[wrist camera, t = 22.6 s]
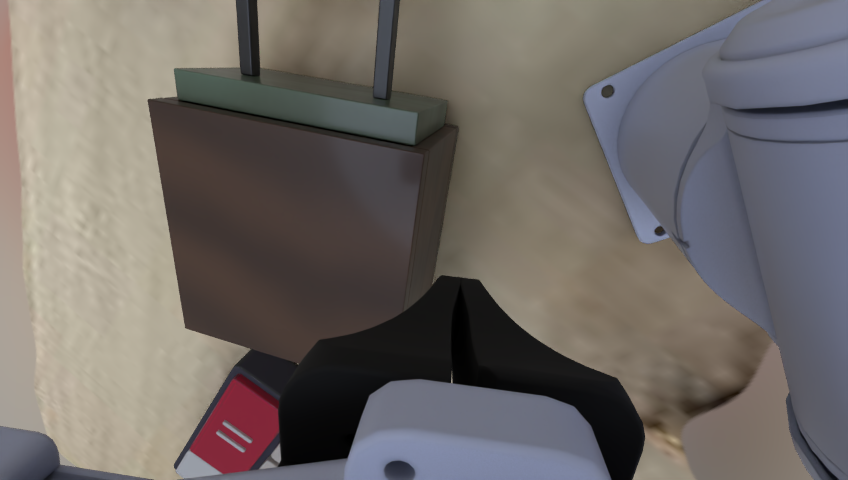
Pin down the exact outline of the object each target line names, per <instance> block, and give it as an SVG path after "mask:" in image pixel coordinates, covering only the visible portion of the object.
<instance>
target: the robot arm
mask: <svg viewBox="0 0 848 480" xmlns="http://www.w3.org/2000/svg"><path fill="white" fill-rule="evenodd" d="M606 85H611V86H612V87H613V93H612V95H610V96H609V97H603V96H602V95H601V91H602V89H603V87H605V86H606ZM583 102H584V105H585V107H586V110H587V112H588V115H589V117H590V120H591V122H592V125H593V127H594V130H595V132H596V135H597V137H598V140H599V142H600V145H601V147H602V150H603V152H604V155H605V157H606V160H607V162H608V165H609V168H610V170H611V173H612V175H613V178H614V180H615V183H616V185H617V188H618V190H619V193H620V195H621V198H622V200H623V203H624V205H625V208H626V210H627V213H628V215H629V218H630V220H631V223H632V225H633V228H634V230H635V233H636V235H637V237H638V239H639V240H640V241H641V242H643V243H646V244H650V243H654V242H658V241H661V240H664V239H667V238H671V239H672V240H673V241H674V243H675V244H676V245H677V247H678V248H679V249H680V251H681V252H682V253H683V254H684V256H685V257H686V258H687V260H688V261H689V262H690V263H691V264H692V266H693V267H694V268H695V270H696V271H697V273H698V274H699V275H700V277H701V278H702V279H703V280H704V282H705V283H706V284H707V285H708V286H709V287H710V288H711V289H712V290H713V291H714V292H715V293H716V294H717V295H718V296H720V297H721V298H722V299H723V300H724V301H726V302H727V303H728V304H730V305H731V306H732V307H734V308H735V309H736V310H738V311H739V312H741V313H742V314H743V315H745V316H746V317H748V318H749V319H751V320H752V321H753V322H755V323H756V324H758V325H759V326H760V327H762V328H763V329H764V330H765V331H767V332H768V335H769V336H770V338H771V339H772V340H773V341H774V342H775V343H776V345H777V346H778V347H779V350H780V353H781V358H782V362H783V367H784V370H785V375H786V379H787V383H788V387H789V394H788V396H787V398H786V404H787V414H788V421H789V430H790V433H791V437H792V440H793V444H794V447H795V450H796V451H797V453H798V455H799V457H800V459H801V461H802V463H803V464H804V466H805V468H806V470H807V471H808V473H809V474H810V475H811V477H812V478H813V479H814V480H848V0H761V1H759V2H757V3H755V4H753V5H751V6H749V7H747V8H745V9H743V10H741V11H739V12H737V13H735V14H733V15H731V16H729V17H727V18H725V19H724V20H722V21H720V22H718V23H716V24H714V25H712V26H710V27H708V28H706V29H704V30H702V31H700V32H698V33H696V34H694V35H692V36H690V37H688V38H686V39H684V40H682V41H680V42H678V43H676V44H674V45H672V46H670V47H668V48H666V49H664V50H662V51H660V52H658V53H656V54H654V55H652V56H650V57H648V58H646V59H644V60H642V61H640V62H638V63H636V64H634V65H632V66H630V67H628V68H626V69H624V70H622V71H620V72H618V73H616V74H614V75H612V76H610V77H608V78H606V79H604V80H602V81H600V82H598V83H596V84H594V85H592V86H590V87H589V88H588V89H587V90H586V91H585V93H584V95H583ZM658 226H662V227H663V228H664V230H663V231H662V232H660V233H656V232H654V230H655V229H656V227H658ZM451 374H452V379H453V384H452V383H451ZM278 422H279V438H280V454H281V461H280V463H279V465H278V467H274V468H266V469H258V470H251V471H243V472H235V473H227V474H219V475H211V476H203V477H195V478H187V479H179V480H632V479H633V476H634V474H635V471H636V468H637V465H638V463H639V460H640V457H641V454H642V451H643V446H644V441H645V433H644V428H643V422H642V421H641V419H640V417H639V415H638V413H637V411H636V409H635V407H634V405H633V403H632V402H631V400H630V398H629V396H628V394H627V393H626V391H625V390H624V388H623V386H622V385H621V383H620V382H619V380H618V379H617V378H615V377H612V376H610V375H607V374H604V373H602V372H599V371H597V370H594V369H591V368H589V367H586V366H584V365H582V364H580V363H577V362H575V361H573V360H571V359H569V358H567V357H565V356H563V355H561V354H560V353H558V352H556V351H554V350H552V349H551V348H549V347H548V346H546V345H545V344H543V343H541V342H540V341H538V340H537V339H535V338H534V337H533V336H531V335H530V334H529V333H527V332H526V331H525V330H524V329H522V328H521V327H520V326H519V325H518V324H516V323H515V322H514V321H513V320H512V319H511V318H510V317H509V316H508V315H507V314H506V313H505V312H504V311H503V310H502V309H501V308H500V307H499V305H498V304H497V303H496V302H495V301H494V299H493V298H492V297H491V295H490V294H489V293H488V291H487V290H486V289H485V287H484V286H483V284H482V283H481V282H480V281H479V280H477V279H468V278H460V277H451V276H440V277H439V278H438V279H437V280H436V282H435V283H434V284H433V286H432V287H431V288H430V289H429V290H428V291H427V292H426V293H425V294H424V295H423V296H422V297H421V298H420V299H419V300H418V301H416V302H415V303H414V304H413V305H412V306H410V307H409V308H408V309H407V310H405V311H404V312H402V313H401V314H399V315H398V316H396V317H394V318H392V319H390V320H388V321H386V322H383V323H381V324H379V325H377V326H375V327H372V328H369V329H366V330H363V331H360V332H356V333H353V334H349V335H344V336H338V337H333V338H327V339H320V340H318V341H317V342H316V344H315V345H314V346H313V347H312V349H311V350H310V351H309V352H308V353H307V354H306V356H305V357H304V358H303V359H302V361H301V362H300V364H299V365H298V367H297V368H296V370H295V371H294V373H293V374H292V376H291V378H290V379H289V381H288V382H287V384H286V386H285V388H284V390H283V392H282V394H281V396H280V398H279V406H278ZM0 480H152V479H146V478H140V477H134V476H128V475H121V474H115V473H109V472H103V471H96V470H90V469H84V468H78V467H72V466H65V465H60V458H59V452H58V449H57V446H56V444H55V443H54V441H53V440H52V439H51V438H50V437H48V436H47V435H45V434H42V433H40V432H35V431H28V430H23V429H16V428H9V427H3V426H0Z"/></svg>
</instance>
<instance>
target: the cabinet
mask: <svg viewBox="0 0 848 480" xmlns="http://www.w3.org/2000/svg"><path fill="white" fill-rule="evenodd" d="M148 105H149V111H150V117H151V123H152V129H153V135H154V141H155V147H156V153H157V159H158V165H159V172H160V178H161V184H162V190H163V196H164V202H165V208H166V214H167V220H168V226H169V232H170V238H171V244H172V250H173V256H174V263H175V269H176V275H177V281H178V287H179V293H180V299H181V305H182V311H183V317H184V323H185V328H186V329H189V330H193V331H196V332H199V333H202V334H205V335H209V336H212V337H215V338H218V339H222V340H225V341H228V342H231V343H234V344H238V345H241V346H244V347H247V348H250V349H254V350H257V351H260V352H263V353H266V354H270V355H273V356H276V357H279V358H282V359H286V360H289V361H292V362H295V363H299V364H300V362H301V361H302V359H303V358H304V357H305V356H306V354H307V353H308V352H309V351H310V350H311V349H312V347H313V346H314V345H315V344H316V342H317V341H318V340H320V339H327V338H333V337H338V336H344V335H349V334H353V333H356V332H360V331H363V330H366V329H369V328H372V327H375V326H377V325H379V324H381V323H383V322H386V321H388V320H390V319H392V318H394V317H396V316H398V315H399V314H401V313H402V312H404V311H405V310H407V309H408V308H409V307H410V306H412V305H413V304H414V303H415V302H416V301H418V300H419V299H420V298H421V297H422V296H423V295H424V294H425V293H426V292H427V291H428V290H429V289H430V288H431V287H432V283H433V277H434V272H435V266H436V260H437V254H438V248H439V242H440V236H441V230H442V224H443V219H444V213H445V207H446V201H447V195H448V189H449V183H450V177H451V171H452V166H453V160H454V154H455V148H456V142H457V136H458V130H459V127H458V126H454V125H449V124H444V126H443V127H442V128H440V129H439V130H437V131H436V132H434V133H433V134H431V135H430V136H428V137H427V138H425V139H424V140H422V141H421V142H419V143H418V144H416V145H415V146H412V145H407V144H402V143H397V142H392V141H387V140H382V139H377V138H371V137H366V136H361V135H356V134H351V133H346V132H341V131H336V130H331V129H326V128H320V127H315V126H310V125H305V124H300V123H295V122H290V121H285V120H280V119H274V118H269V117H264V116H259V115H254V114H249V113H244V112H239V111H234V110H228V109H223V108H218V107H213V106H208V105H203V104H198V103H193V102H188V101H183V100H179V99H178V97H169V98H156V99H148ZM266 118H267V119H266ZM271 119H272V120H271ZM276 120H277V121H276ZM292 123H293V124H292ZM297 124H298V125H297ZM302 125H303V126H302ZM307 126H308V127H307ZM312 127H313V128H312ZM317 128H318V129H317ZM322 129H323V130H322ZM327 130H328V131H327ZM332 131H333V132H332ZM353 135H354V136H353ZM358 136H359V137H358ZM363 137H364V138H363ZM368 138H369V139H368ZM373 139H374V140H373ZM378 140H379V141H378ZM383 141H384V142H383ZM388 142H389V143H388ZM393 143H394V144H393ZM409 146H410V147H409Z"/></svg>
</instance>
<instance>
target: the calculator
mask: <svg viewBox="0 0 848 480" xmlns="http://www.w3.org/2000/svg"><path fill="white" fill-rule="evenodd" d="M297 367H298V366H297V365H295V364H294V363H293V362H291V361H289V360H286V359H282V358H279V357H276V356H273V355H270V354H266V353H263V352H260V351H257V350H254V349H251V350H250V351H249V352H248V353H247V354H246V355H245V356H244V357H243V358H242V359H241V360H240V361H239V362H238V363H237V364H236V365H235V366H234V367H233V369H232V370H231V372H230V374H229V375H228V377H227V379H226V380H225V382H224V383H223V385H222V387H221V388H220V390H219V392H218V393H217V395H216V397H215V398H214V400H213V401H212V403H211V405H210V406H209V408H208V410H207V411H206V413H205V415H204V416H203V418H202V419H201V421H200V423H199V424H198V426H197V428H196V429H195V431H194V433H193V434H192V436H191V438H190V439H189V441H188V442H187V444H186V446H185V447H184V449H183V451H182V452H181V454H180V456H179V457H178V459H177V460H176V462H175V464H174V468H175V469H176V473H177V474H179V475H180V476H181V477H183V478H184V479H187V478H195V477H203V476H211V475H219V474H227V473H235V472H243V471H251V470H258V469H266V468H274V467H278V465H279V463H280V461H281V454H280V438H279V422H278V406H279V398H280V396H281V394H282V392H283V390H284V388H285V386H286V384H287V382H288V381H289V379H290V378H291V376H292V374H293V373H294V371H295V370H296V368H297Z"/></svg>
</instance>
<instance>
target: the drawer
mask: <svg viewBox="0 0 848 480" xmlns="http://www.w3.org/2000/svg"><path fill="white" fill-rule="evenodd" d="M399 4H400V0H380V4H379V18H378V31H377V45H376V59H375V72H374V86H373V87H367V86H361V85H355V84H349V83H344V82H338V81H332V80H326V79H320V78H315V77H309V76H303V75H297V74H291V73H286V72H280V71H274V70H268V69H262V68H260V56H259V33H258V11H257V0H236V9H237V25H238V40H239V56H240V68H175V69H174V74H175V81H176V89H177V97H178V99H179V100H183V101H188V102H193V103H198V104H203V105H208V106H213V107H218V108H223V109H228V110H234V111H239V112H244V113H249V114H254V115H259V116H264V117H269V118H274V119H280V120H285V121H290V122H295V123H300V124H305V125H310V126H315V127H320V128H326V129H331V130H336V131H341V132H346V133H351V134H356V135H361V136H366V137H371V138H377V139H382V140H387V141H392V142H397V143H402V144H407V145H412V146H415V145H416V144H418V143H419V142H421V141H422V140H424V139H425V138H427V137H428V136H430V135H431V134H433V133H434V132H436V131H437V130H439V129H440V128H442V127H443V126H444V123H445V117H446V110H447V104H448V101H447V100H442V99H436V98H431V97H425V96H419V95H413V94H407V93H402V92H396V91H392V80H393V69H394V58H395V48H396V37H397V26H398V15H399ZM266 119H267V118H266ZM271 120H272V119H271ZM276 121H277V120H276ZM292 124H293V123H292ZM297 125H298V124H297ZM302 126H303V125H302ZM307 127H308V126H307ZM312 128H313V127H312ZM317 129H318V128H317ZM322 130H323V129H322ZM327 131H328V130H327ZM332 132H333V131H332ZM353 136H354V135H353ZM358 137H359V136H358ZM363 138H364V137H363ZM368 139H369V138H368ZM373 140H374V139H373ZM378 141H379V140H378ZM383 142H384V141H383ZM388 143H389V142H388ZM393 144H394V143H393ZM409 147H410V146H409Z"/></svg>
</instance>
